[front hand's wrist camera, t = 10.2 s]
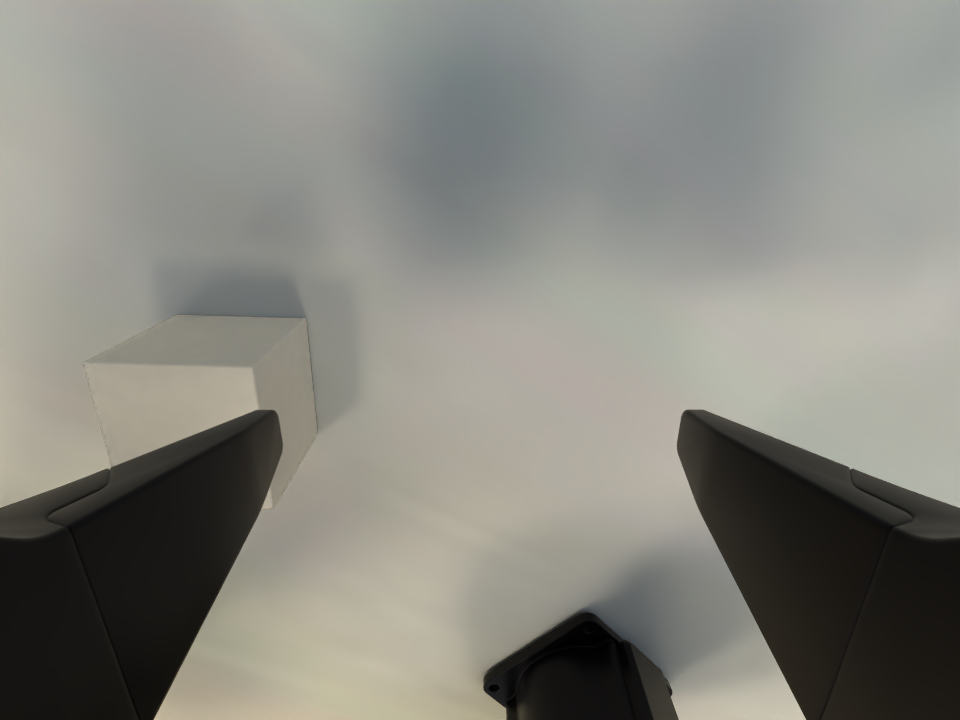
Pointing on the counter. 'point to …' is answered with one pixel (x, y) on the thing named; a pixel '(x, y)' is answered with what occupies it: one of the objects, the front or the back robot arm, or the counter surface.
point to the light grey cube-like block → (206, 385)
